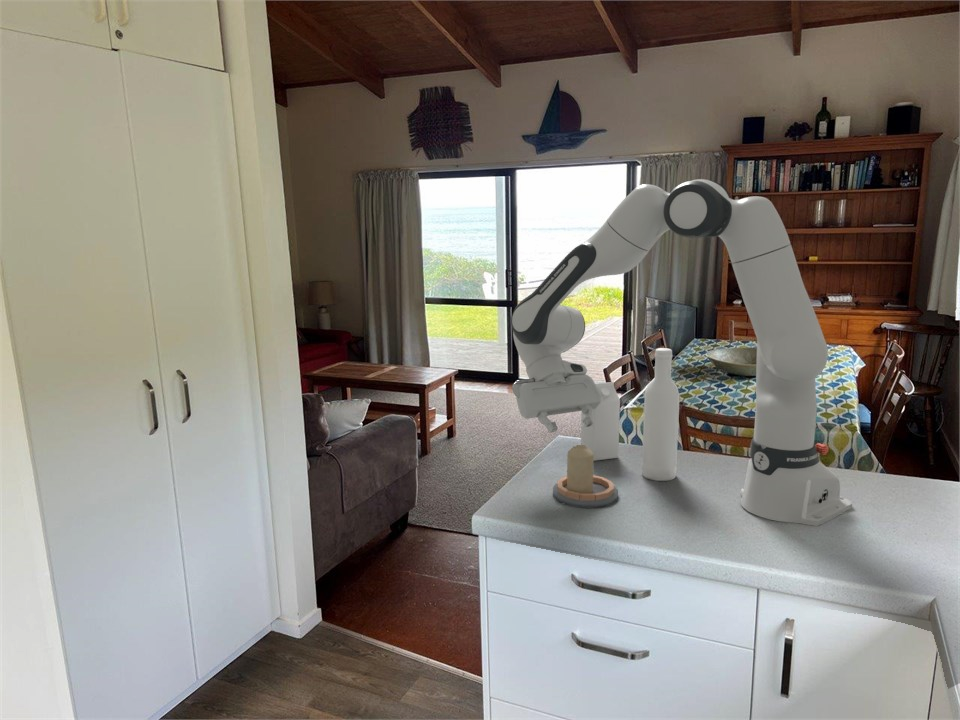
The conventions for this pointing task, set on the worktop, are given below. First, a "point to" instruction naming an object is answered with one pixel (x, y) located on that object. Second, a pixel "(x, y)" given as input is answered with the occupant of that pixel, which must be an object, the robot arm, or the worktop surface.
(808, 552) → the worktop surface
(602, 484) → the tray
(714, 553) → the worktop surface
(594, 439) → the milk carton
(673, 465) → the bottle
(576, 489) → the candle
